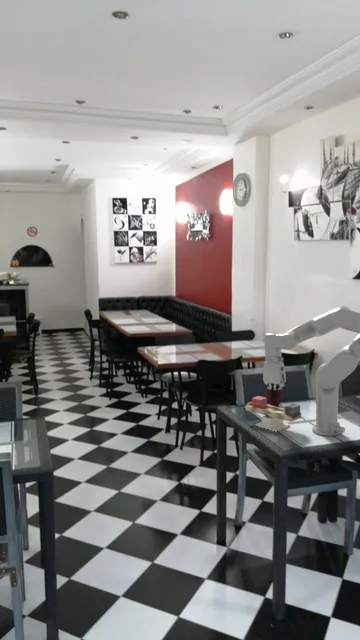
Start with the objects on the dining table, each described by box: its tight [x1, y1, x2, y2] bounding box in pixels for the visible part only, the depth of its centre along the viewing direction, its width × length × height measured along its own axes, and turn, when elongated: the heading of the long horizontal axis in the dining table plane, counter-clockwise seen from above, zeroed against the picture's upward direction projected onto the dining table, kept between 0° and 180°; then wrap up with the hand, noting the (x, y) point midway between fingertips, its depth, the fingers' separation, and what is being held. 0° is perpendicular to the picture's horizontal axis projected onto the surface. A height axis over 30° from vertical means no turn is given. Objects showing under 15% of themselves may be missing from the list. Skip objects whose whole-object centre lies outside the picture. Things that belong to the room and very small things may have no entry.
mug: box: [266, 386, 283, 407], centre depth 273 cm, size 10×8×10 cm
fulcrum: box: [254, 415, 291, 433], centre depth 242 cm, size 12×11×5 cm
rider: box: [251, 395, 268, 409], centre depth 247 cm, size 5×5×5 cm
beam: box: [245, 401, 302, 423], centre depth 241 cm, size 26×9×7 cm, turn 44°
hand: (274, 397), depth 240 cm, fingers closed
